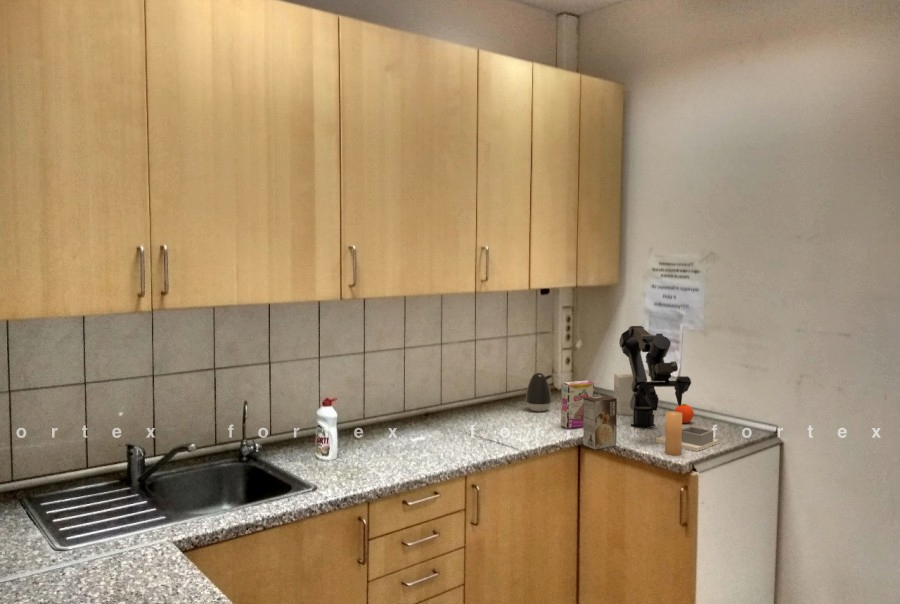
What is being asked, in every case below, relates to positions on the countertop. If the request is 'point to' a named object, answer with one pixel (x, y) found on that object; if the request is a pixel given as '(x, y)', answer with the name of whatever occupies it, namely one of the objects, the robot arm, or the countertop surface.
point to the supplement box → (623, 392)
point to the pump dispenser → (538, 393)
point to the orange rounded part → (673, 433)
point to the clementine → (685, 412)
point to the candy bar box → (574, 403)
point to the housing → (694, 438)
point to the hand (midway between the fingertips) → (666, 405)
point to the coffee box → (600, 421)
